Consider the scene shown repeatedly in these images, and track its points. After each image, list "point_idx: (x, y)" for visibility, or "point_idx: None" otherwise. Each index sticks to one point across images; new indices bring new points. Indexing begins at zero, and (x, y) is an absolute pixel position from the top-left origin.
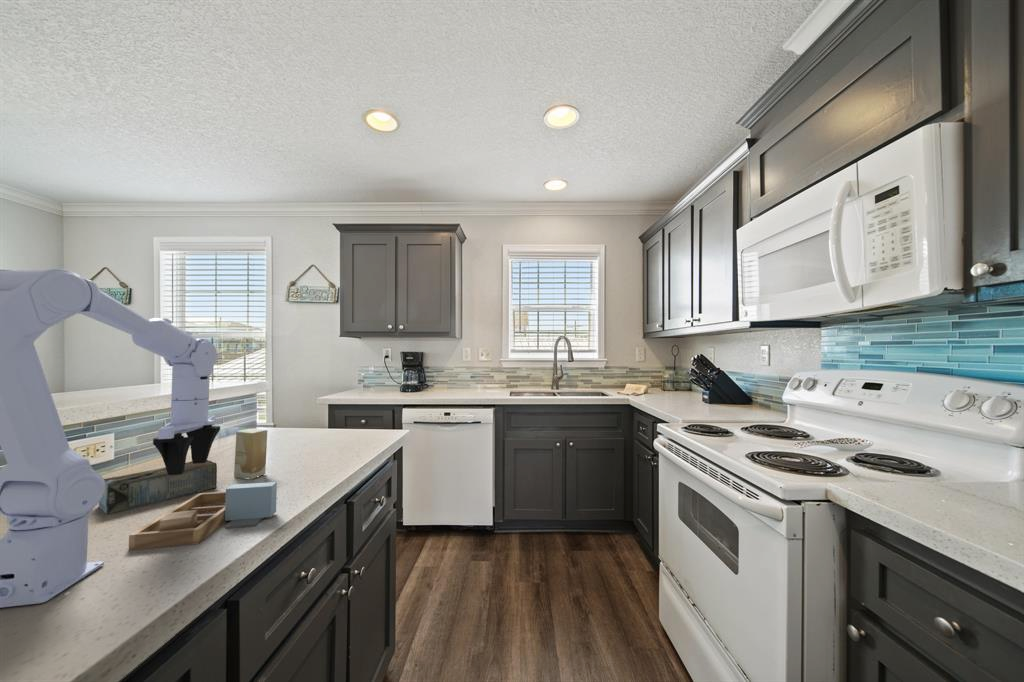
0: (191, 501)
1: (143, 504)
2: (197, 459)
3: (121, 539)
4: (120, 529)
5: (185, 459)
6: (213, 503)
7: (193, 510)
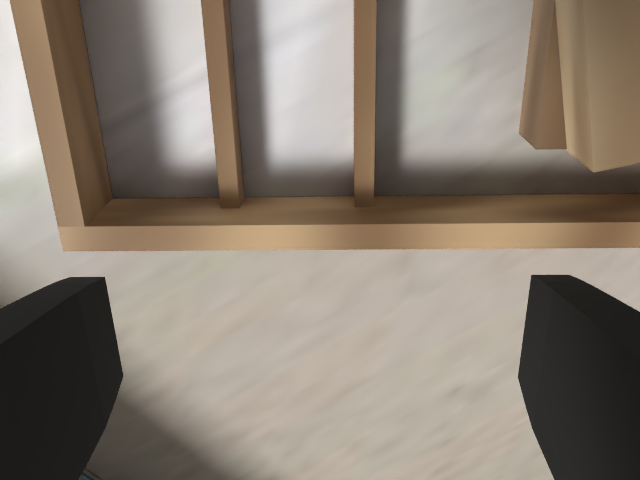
0: (201, 222)
1: (92, 478)
2: (98, 368)
3: (524, 323)
4: (393, 395)
5: (626, 336)
6: (97, 131)
7: (594, 20)
